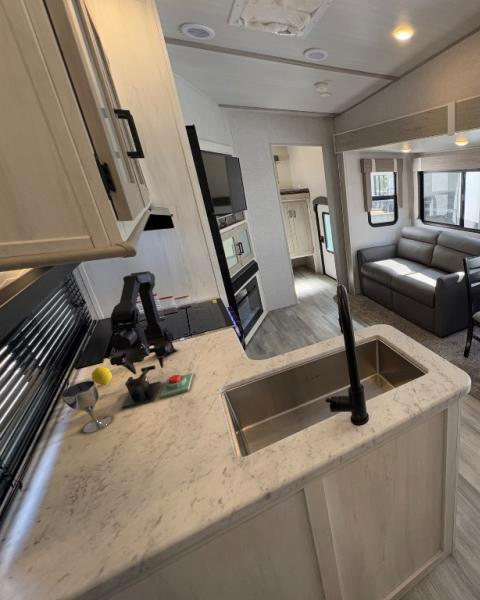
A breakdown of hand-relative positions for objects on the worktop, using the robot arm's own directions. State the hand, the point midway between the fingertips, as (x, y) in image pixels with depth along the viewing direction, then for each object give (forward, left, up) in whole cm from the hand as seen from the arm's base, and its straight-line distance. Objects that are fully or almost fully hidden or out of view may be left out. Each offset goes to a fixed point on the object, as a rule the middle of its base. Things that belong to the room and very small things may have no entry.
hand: (149, 370), depth 127 cm
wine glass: (+24, +10, -3) cm, 26 cm away
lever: (+5, +5, +1) cm, 7 cm away
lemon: (+9, -14, -3) cm, 17 cm away
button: (+1, +17, -1) cm, 17 cm away
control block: (+1, +17, -3) cm, 17 cm away
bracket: (+9, +9, -3) cm, 13 cm away
